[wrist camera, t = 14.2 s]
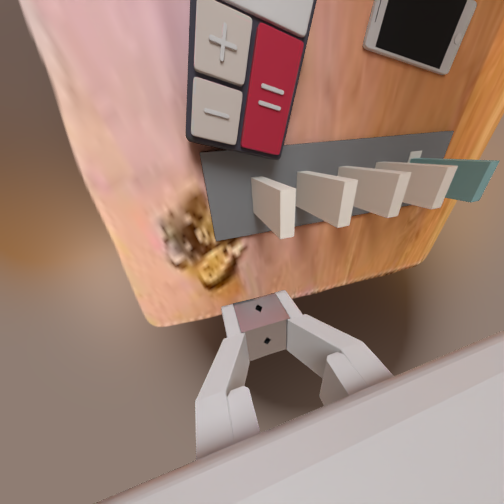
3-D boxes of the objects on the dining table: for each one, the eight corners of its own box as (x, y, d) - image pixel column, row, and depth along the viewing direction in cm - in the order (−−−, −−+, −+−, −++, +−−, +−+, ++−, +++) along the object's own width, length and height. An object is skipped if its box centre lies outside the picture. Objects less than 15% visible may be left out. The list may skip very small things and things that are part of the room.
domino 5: (401, 189, 34) (470, 202, 26) (410, 158, 32) (490, 162, 23) (408, 188, 35) (478, 200, 26) (418, 157, 32) (499, 160, 24)
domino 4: (369, 194, 33) (431, 209, 24) (376, 162, 30) (448, 167, 22) (376, 192, 33) (440, 207, 25) (384, 161, 31) (458, 165, 22)
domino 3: (334, 199, 31) (387, 218, 23) (338, 166, 29) (400, 173, 21) (342, 198, 32) (397, 215, 23) (347, 165, 29) (411, 172, 21)
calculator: (185, 139, 19) (193, -115, 13) (186, 141, 23) (193, -56, 16) (283, 161, 23) (327, -30, 16) (270, 159, 26) (302, 3, 20)
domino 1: (253, 212, 29) (280, 239, 20) (251, 177, 26) (280, 190, 18) (263, 211, 29) (294, 236, 20) (261, 176, 26) (296, 188, 18)
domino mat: (199, 152, 24) (199, 152, 23) (448, 131, 33) (454, 130, 32) (215, 239, 30) (216, 241, 29) (422, 201, 38) (427, 202, 38)
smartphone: (441, 77, 28) (448, 74, 28) (359, 49, 24) (365, 46, 23) (469, 6, 25) (479, 2, 24) (381, -40, 21) (389, -48, 20)
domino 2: (295, 205, 30) (337, 227, 22) (297, 171, 28) (344, 181, 19) (304, 204, 30) (349, 225, 22) (307, 170, 28) (358, 179, 19)
